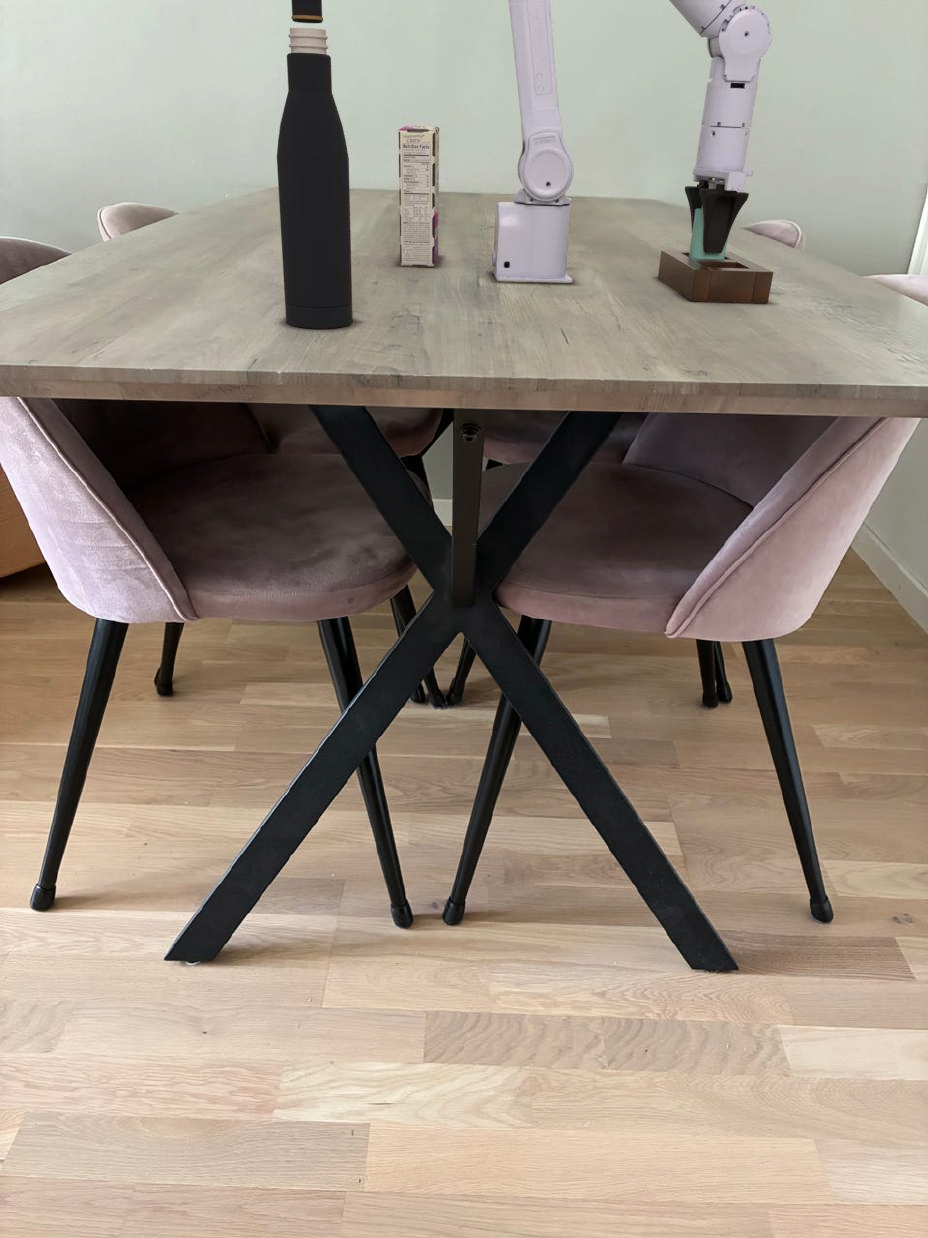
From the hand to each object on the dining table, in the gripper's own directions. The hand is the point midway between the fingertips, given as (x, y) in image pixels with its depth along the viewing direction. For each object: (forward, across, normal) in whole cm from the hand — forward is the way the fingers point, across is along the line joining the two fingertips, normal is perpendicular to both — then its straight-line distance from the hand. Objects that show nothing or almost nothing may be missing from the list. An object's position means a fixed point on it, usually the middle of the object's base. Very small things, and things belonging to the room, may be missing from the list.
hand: (706, 249), depth 115 cm
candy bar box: (+4, +13, +36) cm, 39 cm away
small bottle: (+2, 0, 0) cm, 2 cm away
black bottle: (+4, -29, +46) cm, 54 cm away
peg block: (+4, -4, 0) cm, 6 cm away
